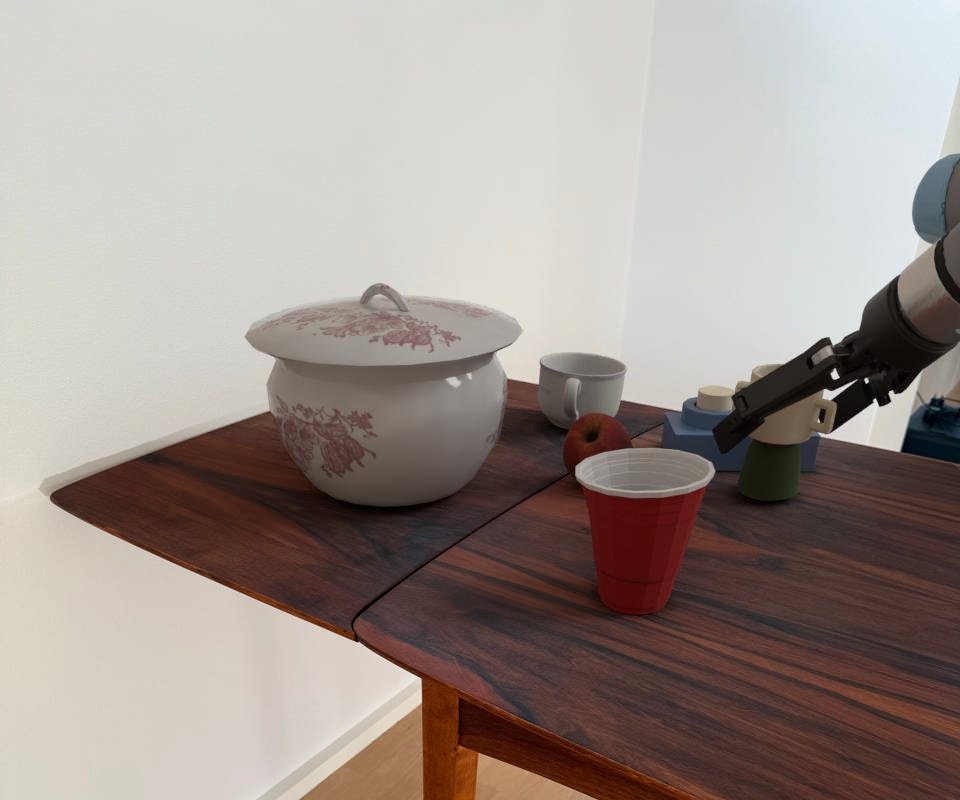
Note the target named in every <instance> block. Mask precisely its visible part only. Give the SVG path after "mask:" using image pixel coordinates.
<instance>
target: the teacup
mask: <svg viewBox="0 0 960 800" xmlns="http://www.w3.org/2000/svg"><path fill="white" fill-rule="evenodd" d="M627 370H628V368H627V365H626V364H625V363H624V362H622V361H620V360H618V359H616V358H613V357H610V356H605V355H601V354H597V353H589V352H575V351H574V352H572V351H571V352H570V351H569V352H565V351H564V352H555V353H554V352H553V353H549V354H546V355H543V356H542V357H541V358H539V378H538V392H537V395H538V397H537V399H538V400H537V401H538V406H539V409H540V411H541V412H542V414H543V415H544V416H545V417H546V418H547V419H548V420H549V422H550V423H551V424H552V425H554V426H555V427H558V428H561V429H565V430H568V431H569V430H570V428H571V427H572V425H573V424H574V423H575V422H576V421H577V420H578V419H579V418H580V417H582V416H584V415H586V414H589V413H602V414H606V415H609V416H611V417H613V418H615V416H616V415H617V414H618V411H619V409H620V405H621V400H622V395H623V389H624V384H625V377H626V373H627Z"/></svg>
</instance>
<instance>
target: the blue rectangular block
mask: <svg viewBox="0 0 960 800" xmlns="http://www.w3.org/2000/svg"><path fill="white" fill-rule="evenodd" d="M697 397H698V396H694V397H689V398H687V399H686V400H684V401H683V402H682V405H681V406H682V407H681V411H665V412H664V418H663V427H662V434H661V435H662V436H661V444H660V447H661V449H672V450H680V451H684V452H688V453H692V454H696V455H699V456H701V457H703V458H704V459H706V460H708V461H710V462H712V464H713V467H714V469H715V472H717V471H718V472H721V471H723V472H740V471H741V468H742V465H743V462H744V459H745V455H746V452H747V449H748V446H749V445H750V443H751V442H752V440H753V438H751V437H749V436H747V437H746V438H745V439H744V440H742V441H741V442H740V443H739V444H738V445H736V446H735V447H734V448H733V449H731V450H730V451H729V452H728V453H725V454H721V453H720V451H719V448H718V445H717V443H716V440H715V438H714V435H713V432H712V429H713V428H714V427H716V426H717V425H718V424H719V423H720V422H721V421H722V420H724V419H725V418H726V417H727V416H728V415H729V414H730V413H731V412H733V411H734V410H733V405H732V410H729V411H708V410H702V409H700V408H697V407H696V404H697ZM820 442H821V434H820V433H819V432H814V433H813V435H812V436H811V437H810V438H809V439H808V440H807V441H805V442H802V443H799V445H800V449H801V469H800V472H807V473H808V472H814V471H815V465H816V461H817V456H818V451H819V446H820Z"/></svg>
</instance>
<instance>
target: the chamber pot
mask: <svg viewBox="0 0 960 800" xmlns="http://www.w3.org/2000/svg"><path fill="white" fill-rule="evenodd" d="M523 332H524V330H523V328H522V326H521V324H520V322H519V321H518V319H516V318H515V317H514V316H512V315H510V314H508V313H505V312H504V311H501V310H500V309H496V308H492V307H488V306H487V305H483V304H479V303H476V302H470V301H467V300H461V299H455V298H445V297H438V296H430V295H429V296H427V295H409V294H401V293H400V292H399V291H398V290H397V289H394V287H391V286H390V285H388V284H385V283H383V282H377V283H374V284H371V285H369V287H367V288H366V290H365V291H364V292H363V293H362V295H359V296H358V295H356V296H346V297H339V298H337V297H336V298H331V299H325V300H319V301H312V302H305V303H301V304H299V305H295V306H291V307H287V308H284V309H281V310H280V311H276V312H273V313H269V314H268V315H266V316H264V317H262V318H260V319H258V320H256V321H254V322H252V323H251V325H250V326H249V328H248V330H247V331H246V333H245V335H244V339H245V340H246V341H247V342H248V344H249V345H250V346H251V347H252V348H253V349H254V350H256V351H257V352H260V353H263V354H266V355H268V356H270V357H273V358H274V360H275V362H274V364H273V367H272V369H271V371H270V374H269V377H268V379H267V381H266V392H267V393H266V394H267V399H268V407H269V408H268V409H269V411H270V414H271V415H270V416H271V418H272V420H273V424H274V426H275V429H276V432H277V436H278V438H279V441H280V444H281V445H282V447H283V448H284V449H285V451H286V452H287V454H288V456H289V457H290V458H291V459H292V461H293V462H294V464H296V466H297V467H298V468H299V469H300V471H301V472H302V473H303V475H305V477H306V478H307V479H308V481H309V482H310V483H311V484H312V486H314V487H315V488H316V489H318V490H319V491H320V492H322V493H324V494H325V495H327V496H329V497H331V498H333V499H335V500H337V501H342V502H345V503H349V504H353V505H360V506H369V507H380V508H396V507H397V508H398V507H400V508H401V507H407V506H415V505H420V504H421V505H422V504H426V503H432V502H435V501H438V500H440V499H444V498H447V497H450V496H453V495H454V494H455V493H458V492H459V491H461V490H463V488H465V487H467V486H468V485H469V484H470V483H471V482H472V481H473V479H475V477H476V475H477V474H478V472H479V470H480V469H481V467H482V466H483V464H484V462H485V461H486V460H487V458H488V456H489V454H490V453H491V451H492V450H493V448H494V446H495V445H496V444H497V442H498V440H499V438H500V436H501V431H502V427H503V422H504V417H505V413H506V408H507V405H508V404H507V403H508V376H507V374H506V371H505V369H504V367H503V365H502V363H501V361H500V359H499V357H498V355H497V353H498V352H499V351H501V350H503V349H505V348H507V347H510V346H512V345H513V344H515V343H516V341H517V340H518V339H519V338H520V337H521V335H522V334H523Z"/></svg>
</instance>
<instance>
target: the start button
mask: <svg viewBox="0 0 960 800" xmlns="http://www.w3.org/2000/svg"><path fill="white" fill-rule="evenodd" d="M734 394H735V389H733V388H730V387H727V386H721V385H704V386H701V387H699V388H698V392H697V396H696V397H697V404H696V407H697V408H700V409H702V410H708V411H729V410H732V405H733V401H732V398H731V396H732V395H734Z"/></svg>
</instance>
